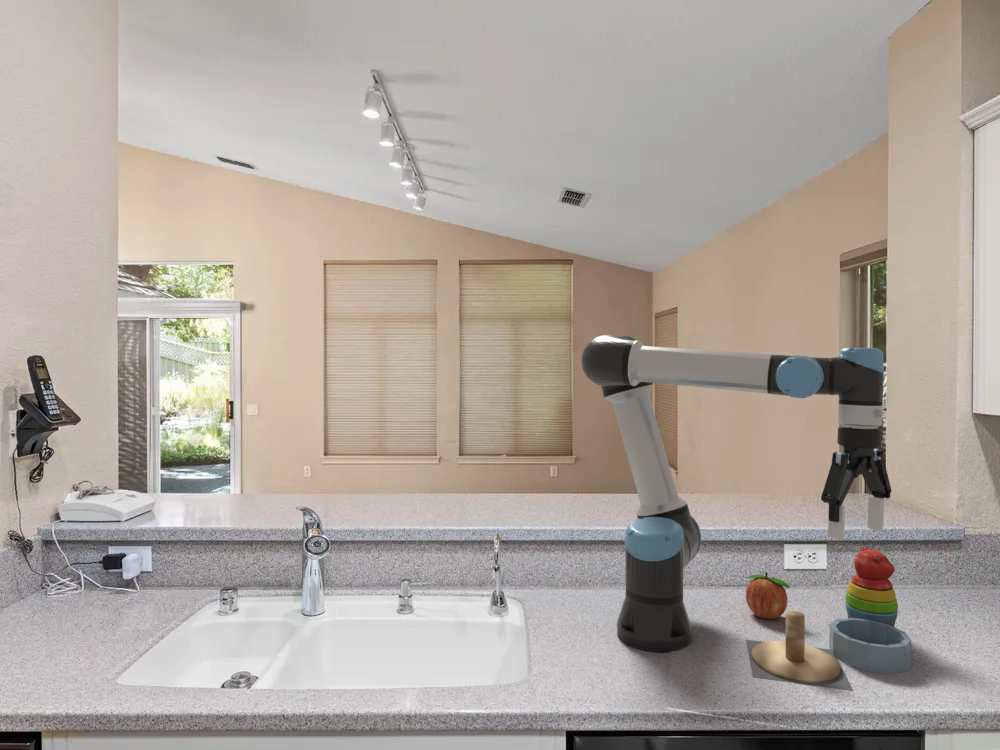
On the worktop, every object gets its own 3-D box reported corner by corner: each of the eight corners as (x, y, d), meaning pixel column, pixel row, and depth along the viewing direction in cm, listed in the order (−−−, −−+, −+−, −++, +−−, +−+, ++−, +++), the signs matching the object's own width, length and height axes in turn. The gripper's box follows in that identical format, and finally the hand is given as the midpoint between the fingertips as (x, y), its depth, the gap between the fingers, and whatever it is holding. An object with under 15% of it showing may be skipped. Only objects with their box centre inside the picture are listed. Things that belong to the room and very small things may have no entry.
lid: (755, 675, 112) (756, 625, 112) (748, 640, 127) (748, 595, 127) (849, 688, 108) (849, 635, 108) (830, 650, 122) (831, 603, 122)
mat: (753, 678, 112) (753, 676, 112) (745, 640, 127) (745, 639, 127) (853, 692, 107) (853, 690, 107) (833, 651, 123) (833, 649, 123)
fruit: (777, 628, 133) (777, 582, 133) (735, 614, 141) (735, 570, 141) (796, 618, 139) (796, 573, 139) (755, 605, 146) (755, 563, 146)
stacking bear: (911, 649, 123) (912, 559, 123) (855, 645, 125) (856, 556, 125) (889, 627, 134) (889, 544, 134) (837, 623, 136) (838, 541, 136)
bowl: (838, 668, 116) (838, 641, 115) (824, 639, 128) (824, 614, 128) (920, 679, 112) (920, 651, 112) (897, 647, 124) (897, 622, 124)
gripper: (841, 431, 113) (837, 547, 114) (913, 425, 126) (909, 530, 126) (803, 426, 120) (799, 537, 120) (875, 422, 132) (871, 521, 133)
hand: (856, 533), depth 123 cm, fingers open, 13 cm apart
